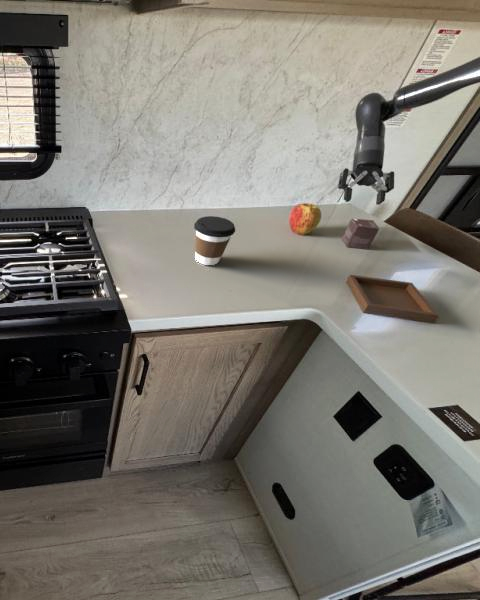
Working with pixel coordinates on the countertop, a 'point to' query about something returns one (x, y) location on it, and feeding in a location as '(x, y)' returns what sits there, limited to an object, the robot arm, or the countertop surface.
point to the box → (360, 233)
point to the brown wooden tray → (391, 298)
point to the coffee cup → (212, 238)
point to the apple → (304, 218)
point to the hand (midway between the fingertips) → (363, 202)
